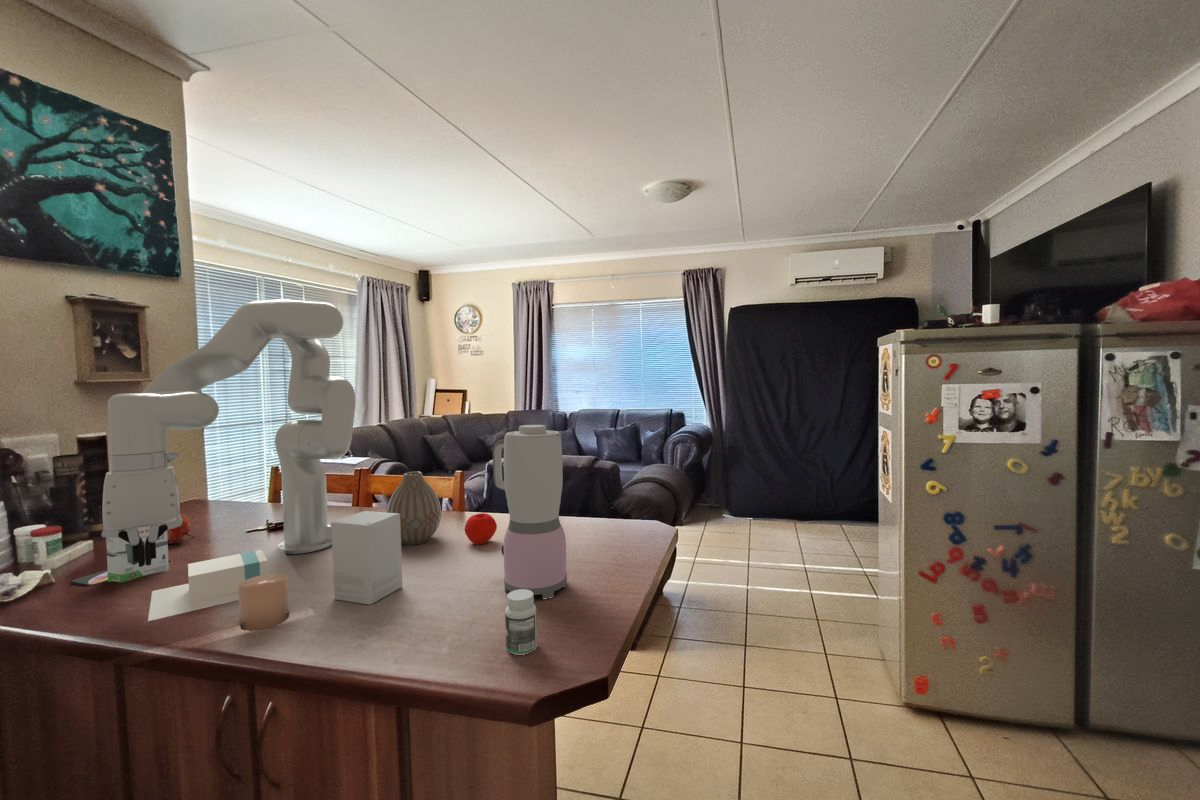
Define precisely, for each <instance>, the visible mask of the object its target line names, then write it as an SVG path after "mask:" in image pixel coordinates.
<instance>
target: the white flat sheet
mask: <svg viewBox="0 0 1200 800" xmlns="http://www.w3.org/2000/svg"><path fill="white" fill-rule="evenodd" d="M235 601H239V592H238V593H234V594H230V595H226V596H221V597H217V598H213V599H209V600H204V601H200V602H196V603H192V604H190V595H189V582H188V583H183V584H180V585H175V586H170V587H166V588H160V589H156V590H155V589H154V590H151V595H150V603H149V612H148V618H147V622H153V621H156V620H159V619H160V620H161V619H164V618H168V617H172V616H176V615H181V614H185V613H189V612H193V611H198V610H201V609H207V608H211V607H216V606H219V605H223V604H228V603H233V602H235Z"/></svg>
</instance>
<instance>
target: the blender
mask: <svg viewBox="0 0 1200 800" xmlns="http://www.w3.org/2000/svg"><path fill="white" fill-rule="evenodd" d="M503 438H504V439H500V440H498V441H496V442H495V444H494V445H493V448H492V469H493V483H494V485H495V487H496V488H498V489H499V490H502V491H504V492H505V497H506V502H507V503H506V505H507V508H508V514H509V524H508V525H507V526H508V527H507V529H506V532H505V533H504V537H503V545H502V546H501V555H502V556H503V569H504V570H503V571H504V572H503V574H504V578H503V580H504V581H503V582H504V585H503V586H504V592H505V591H507V592H511V591H514V590H519V589H527V590H530V591H532V592H533V594H534V596H536V595H541V598H549V597H552V596H553V597H554V594H555V592H556V591H558V590H560V589H562V588H563V587H564V586H565V587H566V588H567V583H568V582H567V581H568V577H567V575H568V574H567V541H566V540H567V539H566V534H565V531H564V528H563V526H562V524H561V522H560V516H559V515H560V514H559V513H560V506H561V500H562V499H561V498H562V491H563V483H564V482H563V480H564V479H563V477H564V476H563V474H564V473H563V470H564V469H563V467H564V466H563V463H564V462H563V461H564V460H563V449H562V447H563V445H562V434H561V433H560V432H559V431H557V430H549V429H548V430H547V426H546V425H545V424H523V425H520V426H519V427H518V430H515V431H509V432H506V433H505V434H504V437H503ZM502 450H503V461H502ZM502 462H503V465H502ZM502 467H503V469H502Z"/></svg>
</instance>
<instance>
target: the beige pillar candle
mask: <svg viewBox="0 0 1200 800" xmlns="http://www.w3.org/2000/svg"><path fill="white" fill-rule="evenodd" d="M238 587H239V600H238V601H239V602H238V603H239V604H238V605H239V621H240V622H241V623H242V624H240V627H241V628H240V629H241V630H242V629H243V630H242V631H245V630H249V631H248V632H253V631H252V630H258V631H263V630H267V629H270V627H271V628H274V627H276V626H279V625H281V624H282V623H284V622H285V621H287V620H288V619H289V617H290V612H289V610H290V609H289V607H290V606H289V589H288V575H287V574H286V573H279V572H278V573H277V572H276V573H275V572H273V573H268V574H265V575H260V576H256V577H252V578H250V579H247V580H245V581H243V582H241V583H240V584H239V586H238ZM278 624H279V625H278ZM273 626H274V627H273ZM262 629H263V630H262Z"/></svg>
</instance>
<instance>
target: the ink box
mask: <svg viewBox="0 0 1200 800" xmlns="http://www.w3.org/2000/svg"><path fill="white" fill-rule="evenodd" d="M160 525H161V524H159V526H160ZM137 528H138V531H139V535H140V537H141V538H142V540H143V541H144V548H145V541H146V538H147V537H148V536H149V530H150V526H144V527H137ZM105 542H106V563H107V568H106V570H108V582H107V583H111V582H116V583H124V582H128V581H131V580H135V579H138V578H141V577H144V576H148V575H154V574H158V573H159V574H160V573H163V572H168V571H169V570H170V565H169V563H168V560H169V545H168V544H169V543H168V539H167V530H166V531H165V532H164V533H163V534H162V535H161V536H160V537H159V538H158V539H157V540H156V558H154V559H152V561H151V565H148V566H147V565H146V564H145V565H144V566H143V567H139V561H137V562H134V560H133V545H131V544H130V543H129V542H127V541H125V540H123V539H121V538H106V537H105Z"/></svg>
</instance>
